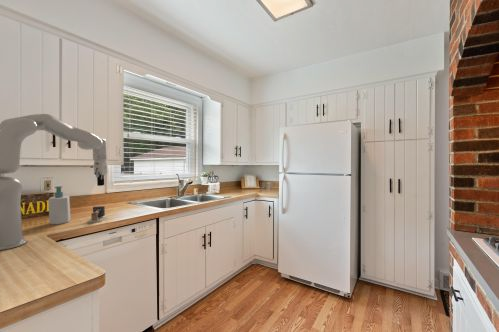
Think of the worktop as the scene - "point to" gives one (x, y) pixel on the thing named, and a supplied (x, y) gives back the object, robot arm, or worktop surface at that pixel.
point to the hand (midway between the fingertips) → (100, 185)
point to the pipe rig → (96, 217)
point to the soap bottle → (59, 208)
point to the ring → (99, 209)
